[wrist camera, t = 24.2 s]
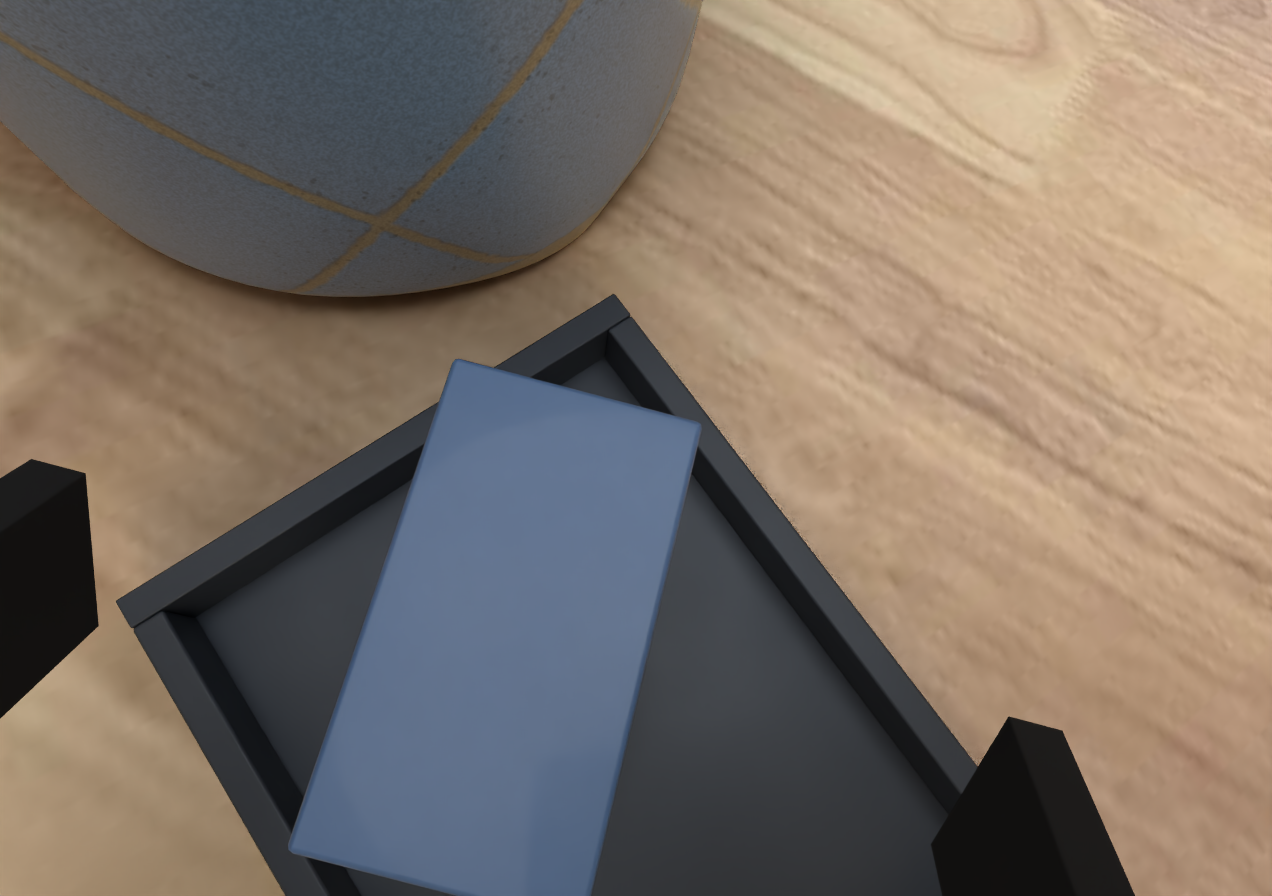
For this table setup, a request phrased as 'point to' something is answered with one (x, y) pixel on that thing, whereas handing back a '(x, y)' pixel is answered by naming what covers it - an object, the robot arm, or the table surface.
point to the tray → (670, 690)
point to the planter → (344, 127)
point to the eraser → (503, 643)
